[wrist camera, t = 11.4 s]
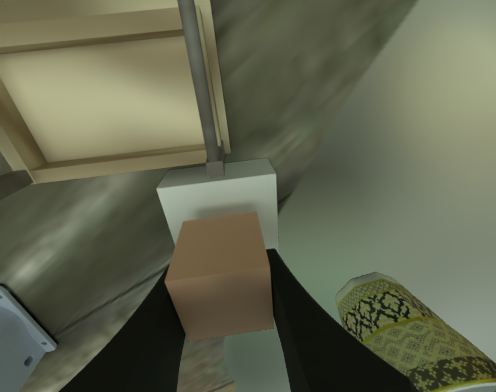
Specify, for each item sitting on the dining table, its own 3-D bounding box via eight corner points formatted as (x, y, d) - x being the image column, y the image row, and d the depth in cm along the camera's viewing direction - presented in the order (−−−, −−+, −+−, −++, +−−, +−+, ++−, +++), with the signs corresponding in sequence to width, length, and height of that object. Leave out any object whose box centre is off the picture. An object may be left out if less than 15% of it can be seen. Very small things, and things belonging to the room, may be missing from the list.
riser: (271, 235, 19) (279, 261, 16) (190, 247, 18) (184, 274, 16) (267, 158, 15) (276, 173, 13) (168, 170, 15) (156, 188, 12)
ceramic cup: (359, 247, 20) (463, 373, 11) (428, 275, 23) (554, 393, 14) (287, 327, 25) (321, 459, 16) (352, 342, 28) (410, 461, 19)
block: (261, 264, 14) (274, 328, 10) (198, 273, 13) (188, 341, 10) (256, 211, 12) (269, 266, 8) (182, 221, 12) (164, 281, 8)
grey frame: (230, 151, 15) (232, 176, 11) (37, 175, 14) (-37, 211, 10) (185, -176, 9) (150, -408, 5) (-160, -154, 8) (-545, -390, 4)
